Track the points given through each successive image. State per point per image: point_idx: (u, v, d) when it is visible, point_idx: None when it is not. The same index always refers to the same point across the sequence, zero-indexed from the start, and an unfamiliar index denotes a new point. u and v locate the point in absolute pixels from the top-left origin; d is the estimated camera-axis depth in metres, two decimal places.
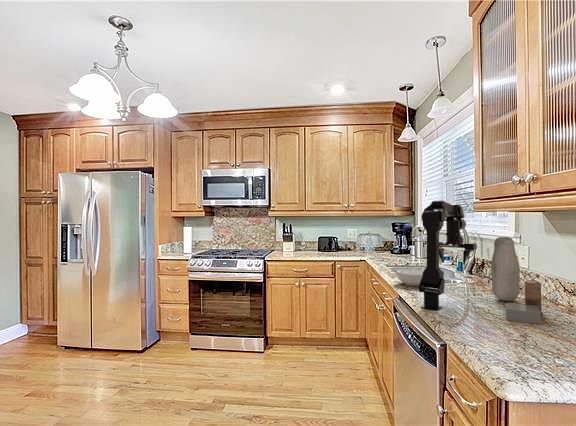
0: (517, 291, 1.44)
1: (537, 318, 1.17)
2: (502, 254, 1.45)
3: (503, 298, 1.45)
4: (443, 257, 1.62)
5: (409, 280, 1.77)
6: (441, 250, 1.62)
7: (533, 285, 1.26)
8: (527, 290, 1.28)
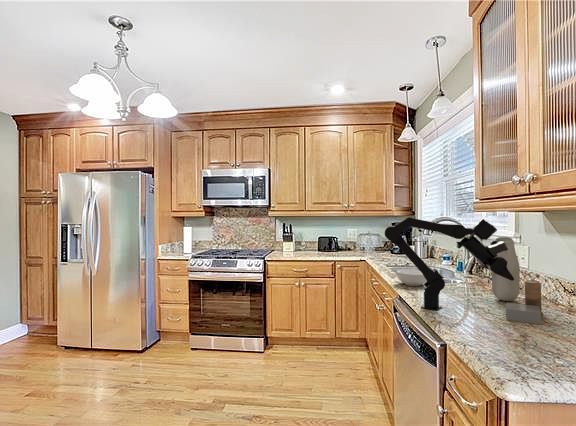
0: (517, 291, 1.44)
1: (537, 318, 1.17)
2: (502, 254, 1.45)
3: (503, 298, 1.45)
4: None
5: (409, 280, 1.77)
6: None
7: (533, 285, 1.26)
8: (527, 290, 1.28)
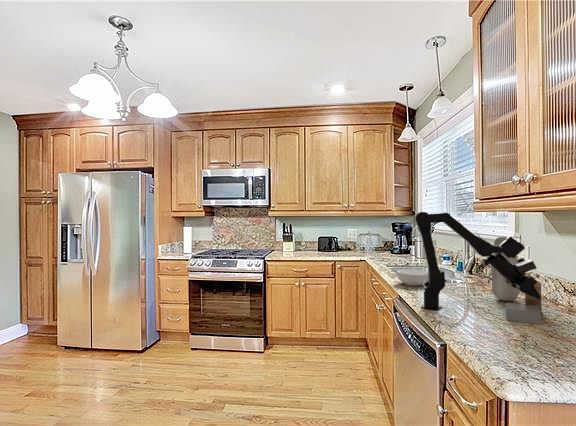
0: (517, 291, 1.44)
1: (537, 318, 1.17)
2: (502, 254, 1.45)
3: (503, 298, 1.45)
4: None
5: (409, 280, 1.77)
6: None
7: None
8: None
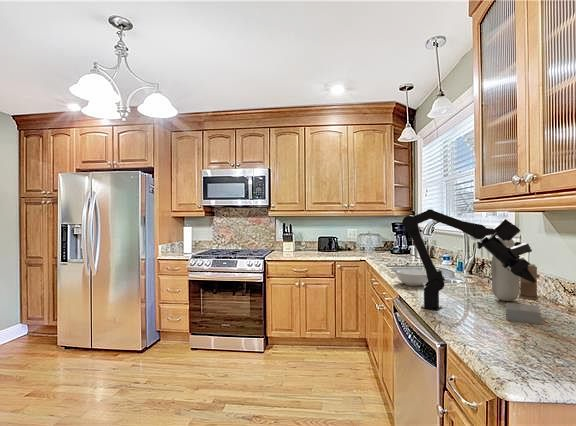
0: (517, 291, 1.44)
1: (537, 318, 1.17)
2: None
3: (503, 298, 1.45)
4: None
5: (409, 280, 1.77)
6: None
7: (528, 268, 1.24)
8: None
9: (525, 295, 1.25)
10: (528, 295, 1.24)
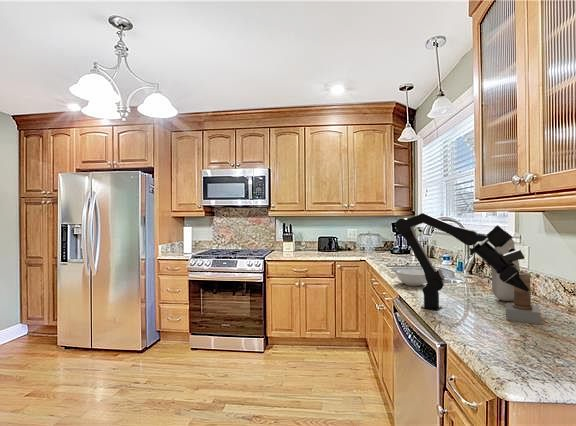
0: None
1: (537, 318, 1.17)
2: None
3: (503, 298, 1.45)
4: None
5: (409, 280, 1.77)
6: None
7: (520, 277, 1.21)
8: None
9: (517, 304, 1.22)
10: (520, 304, 1.21)
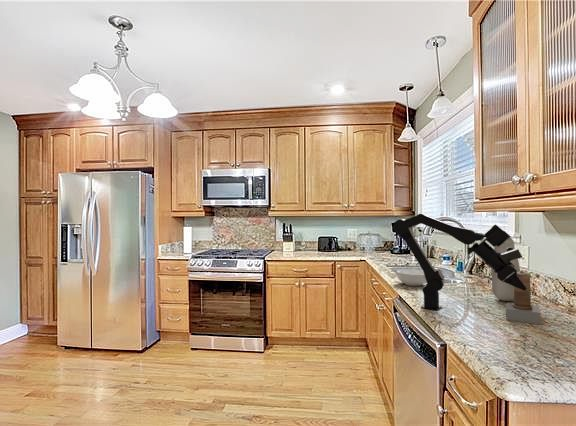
0: None
1: (537, 318, 1.17)
2: None
3: (503, 298, 1.45)
4: None
5: (409, 280, 1.77)
6: None
7: (520, 277, 1.21)
8: None
9: (517, 304, 1.22)
10: (520, 304, 1.21)
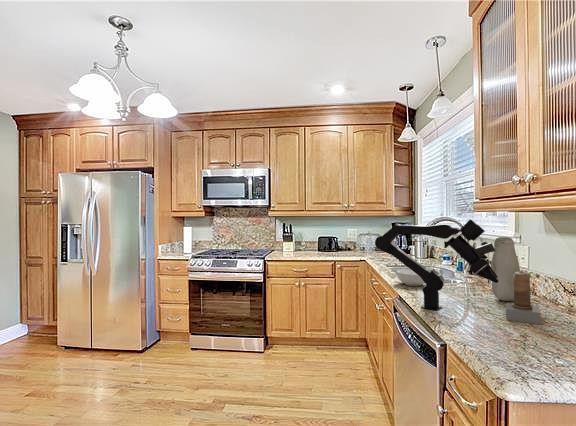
0: None
1: (537, 318, 1.17)
2: (502, 254, 1.45)
3: (503, 298, 1.45)
4: None
5: (409, 280, 1.77)
6: None
7: (519, 277, 1.22)
8: (514, 282, 1.23)
9: (517, 304, 1.22)
10: (520, 304, 1.21)
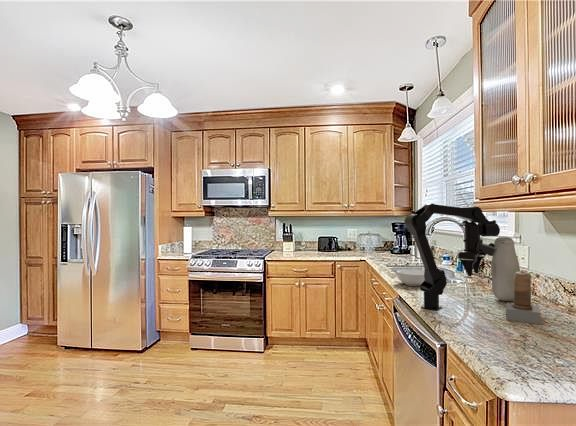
0: None
1: (537, 318, 1.17)
2: (502, 254, 1.45)
3: (503, 298, 1.45)
4: (476, 266, 1.44)
5: (409, 280, 1.77)
6: None
7: (521, 277, 1.21)
8: (515, 282, 1.23)
9: (518, 303, 1.22)
10: (521, 304, 1.21)
